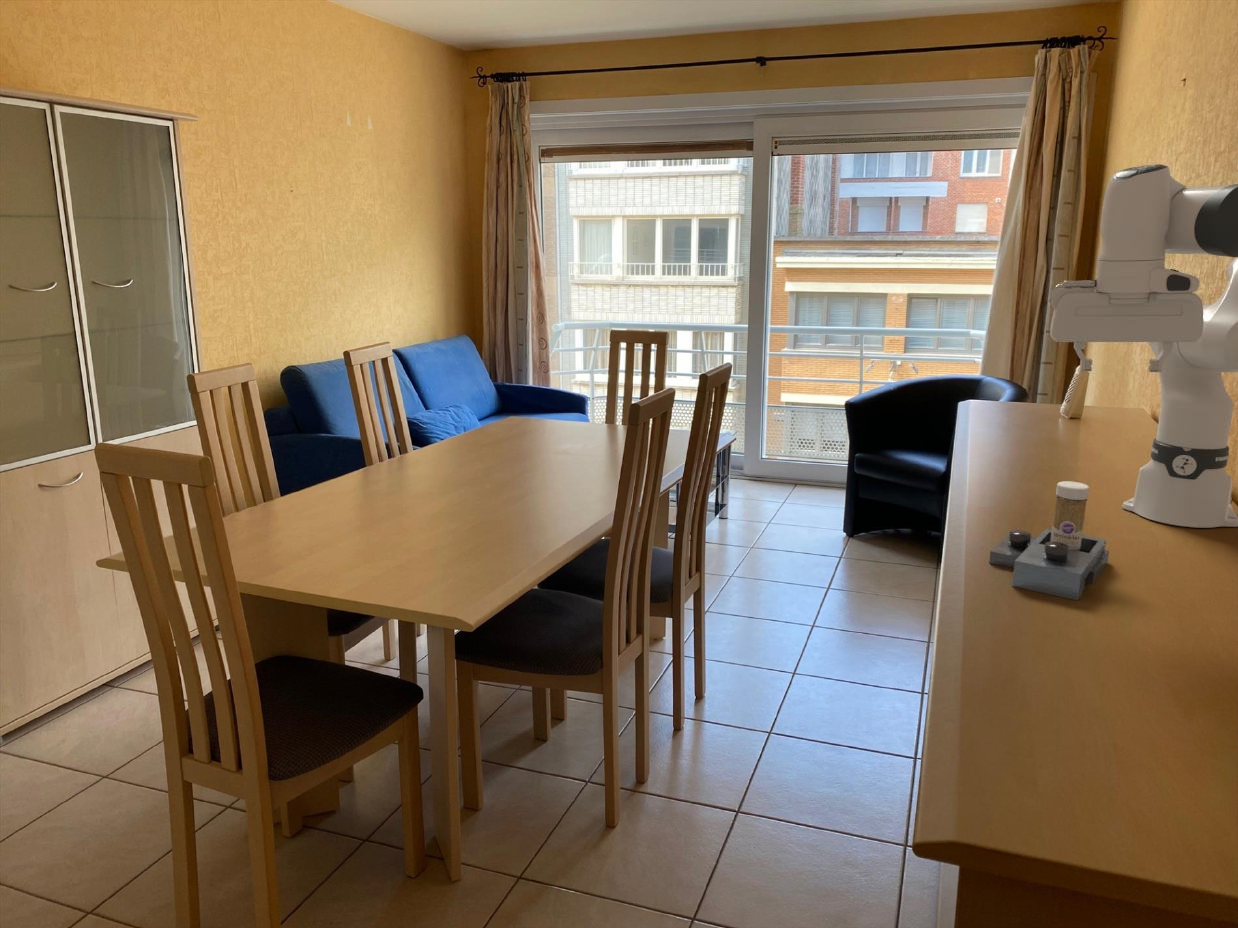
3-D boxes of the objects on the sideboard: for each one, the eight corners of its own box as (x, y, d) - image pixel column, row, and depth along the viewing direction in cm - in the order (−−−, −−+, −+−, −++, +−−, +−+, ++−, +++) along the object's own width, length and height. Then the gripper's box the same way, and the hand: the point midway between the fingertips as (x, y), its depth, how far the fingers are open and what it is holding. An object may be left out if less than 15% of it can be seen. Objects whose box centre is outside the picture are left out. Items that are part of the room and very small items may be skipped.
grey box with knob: (1042, 551, 151) (1047, 517, 149) (1102, 563, 145) (1108, 527, 144) (1011, 585, 136) (1016, 548, 134) (1077, 600, 131) (1082, 561, 129)
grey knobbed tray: (1009, 543, 155) (1012, 521, 154) (1107, 562, 146) (1111, 538, 145) (989, 563, 145) (991, 539, 144) (1092, 584, 136) (1096, 559, 135)
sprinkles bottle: (1050, 569, 143) (1061, 487, 139) (1043, 559, 147) (1053, 479, 144) (1082, 571, 142) (1093, 489, 138) (1074, 561, 146) (1085, 481, 143)
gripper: (1054, 282, 136) (1047, 373, 140) (1212, 279, 129) (1200, 375, 133) (1050, 279, 142) (1043, 367, 145) (1201, 276, 135) (1190, 368, 139)
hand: (1119, 371), depth 139 cm, fingers open, 8 cm apart
